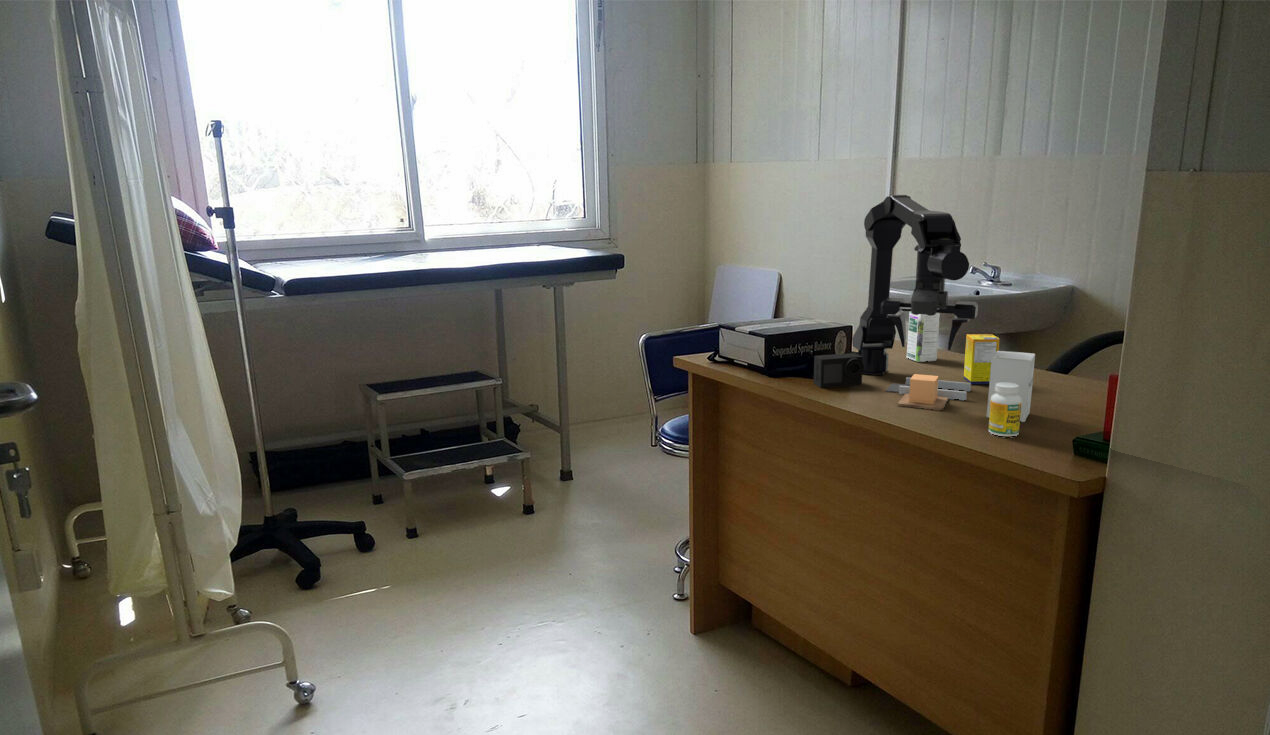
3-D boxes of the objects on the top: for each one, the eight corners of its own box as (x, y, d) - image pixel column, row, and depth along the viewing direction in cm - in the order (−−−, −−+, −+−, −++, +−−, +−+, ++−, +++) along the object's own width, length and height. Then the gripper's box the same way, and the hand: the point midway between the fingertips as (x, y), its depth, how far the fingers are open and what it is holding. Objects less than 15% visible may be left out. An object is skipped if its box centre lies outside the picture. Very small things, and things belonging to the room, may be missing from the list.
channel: (898, 394, 184) (899, 386, 184) (906, 384, 192) (906, 377, 192) (965, 400, 178) (966, 392, 178) (970, 390, 186) (970, 382, 186)
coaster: (897, 406, 175) (897, 403, 175) (905, 395, 183) (905, 393, 183) (942, 410, 171) (942, 407, 171) (947, 400, 179) (948, 397, 179)
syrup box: (905, 358, 219) (908, 304, 216) (925, 356, 221) (928, 302, 217) (917, 362, 214) (920, 307, 211) (937, 361, 215) (941, 306, 212)
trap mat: (886, 391, 187) (886, 390, 187) (892, 384, 193) (892, 383, 193) (908, 393, 184) (909, 392, 184) (914, 386, 191) (914, 385, 190)
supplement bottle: (1000, 427, 159) (1004, 379, 157) (1025, 435, 155) (1029, 385, 152) (981, 432, 157) (985, 383, 154) (1006, 440, 152) (1010, 389, 150)
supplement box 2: (1025, 423, 162) (1031, 360, 159) (985, 418, 166) (990, 356, 163) (1030, 413, 168) (1036, 353, 165) (991, 408, 172) (996, 349, 169)
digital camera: (822, 389, 190) (823, 360, 188) (813, 384, 195) (813, 355, 194) (864, 386, 192) (865, 357, 190) (854, 381, 197) (855, 352, 196)
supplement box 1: (988, 378, 196) (992, 333, 194) (996, 385, 190) (1000, 338, 188) (962, 378, 197) (965, 333, 194) (970, 384, 191) (973, 338, 189)
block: (908, 401, 176) (910, 379, 175) (912, 396, 180) (914, 373, 179) (933, 404, 174) (935, 381, 173) (936, 398, 178) (938, 376, 177)
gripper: (876, 277, 168) (873, 352, 172) (974, 281, 160) (969, 359, 163) (887, 271, 178) (884, 342, 181) (980, 274, 169) (975, 349, 173)
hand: (926, 348), depth 174 cm, fingers open, 9 cm apart
